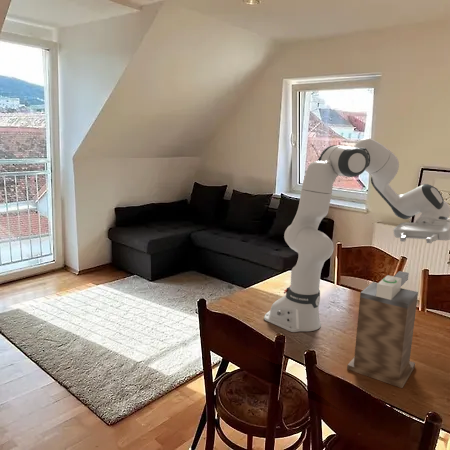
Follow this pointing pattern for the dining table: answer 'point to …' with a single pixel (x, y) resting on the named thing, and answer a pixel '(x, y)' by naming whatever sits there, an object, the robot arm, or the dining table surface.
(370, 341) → the stand
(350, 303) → the dining table surface
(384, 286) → the block
